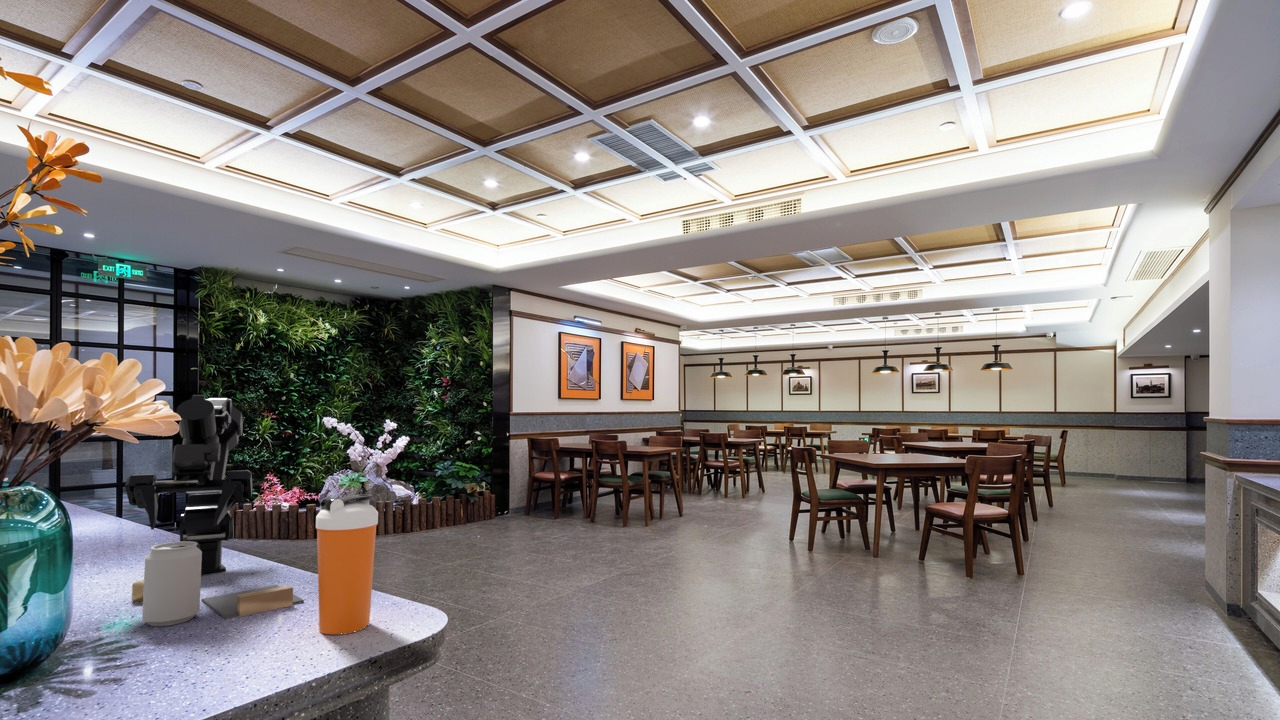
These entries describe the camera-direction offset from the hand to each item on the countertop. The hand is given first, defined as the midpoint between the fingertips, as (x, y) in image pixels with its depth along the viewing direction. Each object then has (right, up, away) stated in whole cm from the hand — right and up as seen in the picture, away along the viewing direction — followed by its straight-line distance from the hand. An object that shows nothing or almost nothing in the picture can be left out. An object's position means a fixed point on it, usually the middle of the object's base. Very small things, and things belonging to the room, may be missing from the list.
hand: (184, 525), depth 113 cm
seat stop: (+16, -13, -3) cm, 21 cm away
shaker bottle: (+33, -13, -12) cm, 38 cm away
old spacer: (-9, -14, +3) cm, 17 cm away
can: (+4, -13, -9) cm, 16 cm away
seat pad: (+12, -13, 0) cm, 18 cm away
